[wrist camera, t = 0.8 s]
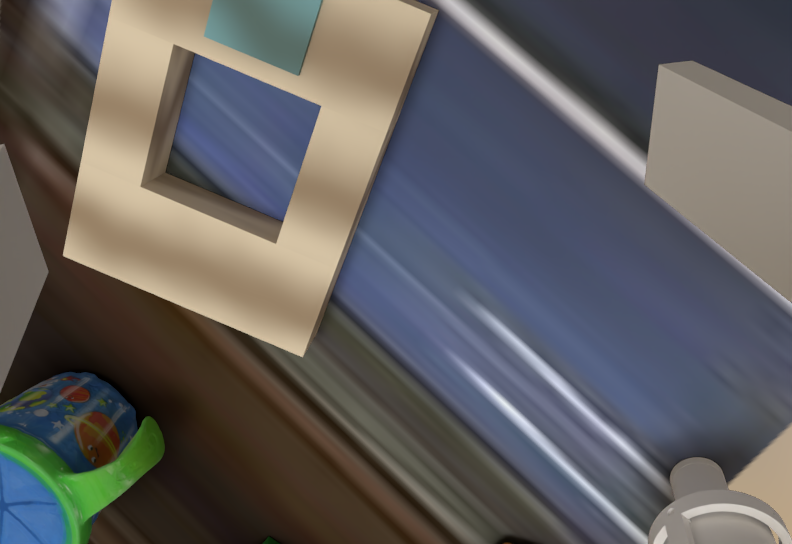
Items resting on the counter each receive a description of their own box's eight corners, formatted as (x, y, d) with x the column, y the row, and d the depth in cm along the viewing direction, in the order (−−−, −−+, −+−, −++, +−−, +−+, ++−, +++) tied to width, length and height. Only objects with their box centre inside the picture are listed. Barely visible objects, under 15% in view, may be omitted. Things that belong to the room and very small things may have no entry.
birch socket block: (162, -105, 37) (130, -111, 34) (438, 10, 37) (430, 14, 34) (91, 238, 45) (59, 257, 42) (316, 333, 45) (301, 359, 42)
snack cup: (20, 482, 54) (-86, 589, 45) (-35, 356, 51) (-161, 444, 42) (215, 474, 51) (144, 588, 42) (172, 338, 47) (84, 429, 38)
